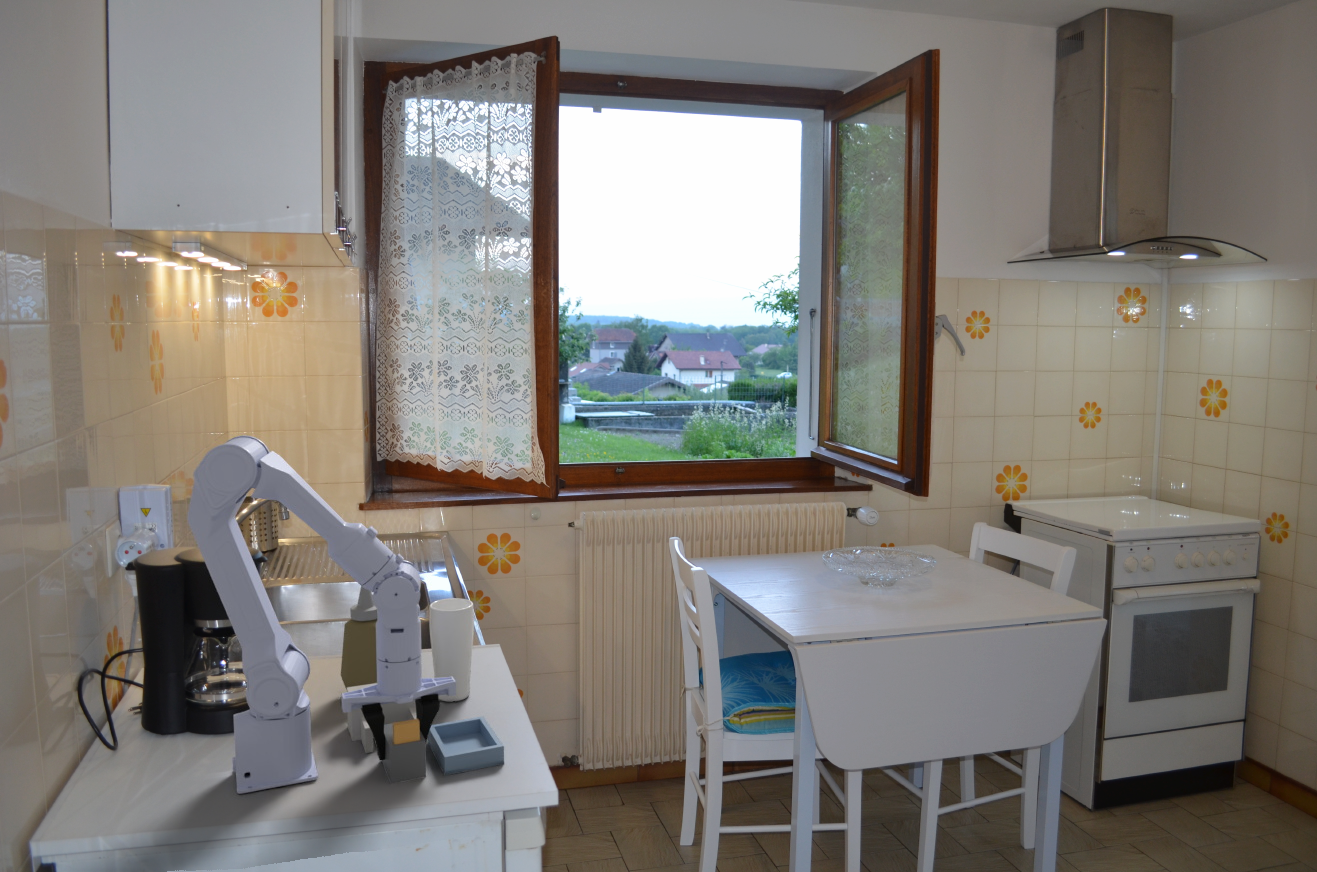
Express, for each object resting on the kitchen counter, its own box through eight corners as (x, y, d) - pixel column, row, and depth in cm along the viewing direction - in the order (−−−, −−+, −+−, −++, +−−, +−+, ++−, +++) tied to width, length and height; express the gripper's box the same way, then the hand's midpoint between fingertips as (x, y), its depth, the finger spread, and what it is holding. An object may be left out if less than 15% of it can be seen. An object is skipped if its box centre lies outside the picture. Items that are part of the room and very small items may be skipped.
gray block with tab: (381, 760, 125) (380, 707, 124) (415, 754, 127) (414, 701, 126) (390, 783, 119) (389, 727, 118) (426, 776, 121) (425, 721, 120)
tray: (445, 775, 121) (444, 757, 121) (428, 742, 130) (427, 725, 130) (504, 763, 124) (503, 745, 124) (483, 732, 134) (483, 716, 133)
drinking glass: (464, 706, 143) (463, 612, 141) (423, 702, 144) (421, 608, 142) (481, 690, 149) (480, 599, 147) (441, 686, 151) (440, 596, 149)
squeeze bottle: (365, 709, 141) (362, 594, 139) (330, 697, 145) (326, 585, 143) (405, 691, 148) (403, 582, 146) (370, 681, 152) (368, 574, 150)
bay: (357, 754, 127) (355, 712, 126) (347, 727, 135) (346, 687, 134) (430, 741, 131) (430, 700, 130) (417, 715, 139) (416, 676, 139)
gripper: (345, 673, 116) (348, 777, 117) (461, 657, 122) (462, 755, 124) (338, 655, 122) (341, 753, 124) (448, 640, 128) (449, 734, 130)
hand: (401, 753), depth 124 cm, fingers closed on gray block with tab, 4 cm apart
